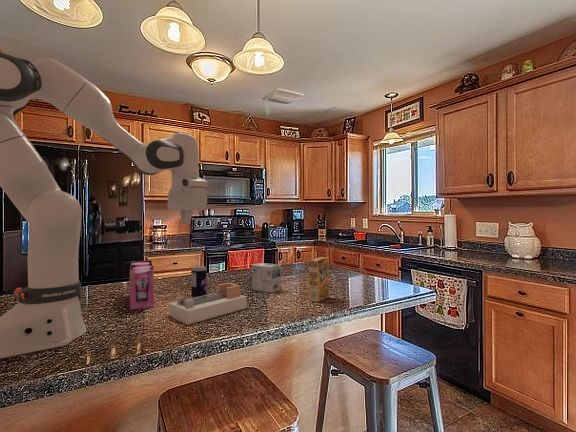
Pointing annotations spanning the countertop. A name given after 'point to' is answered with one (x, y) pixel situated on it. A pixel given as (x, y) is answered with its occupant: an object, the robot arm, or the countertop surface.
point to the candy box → (318, 279)
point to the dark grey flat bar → (206, 298)
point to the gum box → (141, 284)
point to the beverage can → (198, 281)
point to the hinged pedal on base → (208, 305)
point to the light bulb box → (266, 277)
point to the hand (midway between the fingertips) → (186, 224)
